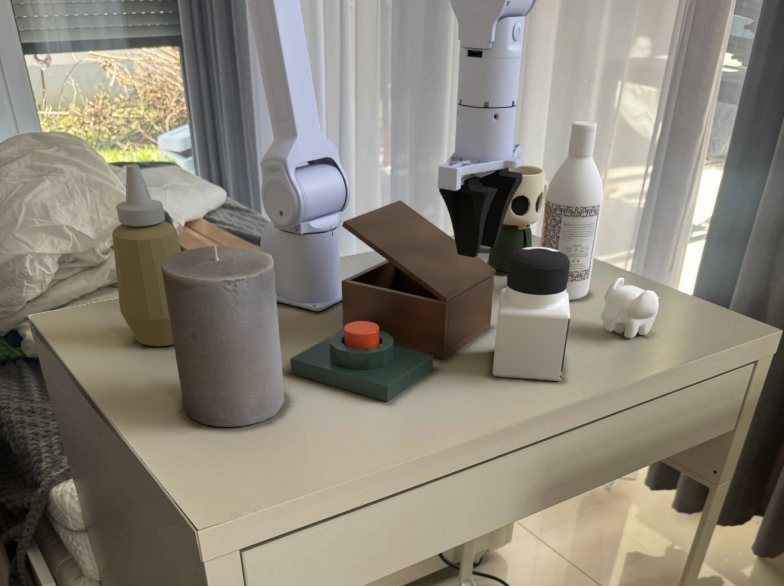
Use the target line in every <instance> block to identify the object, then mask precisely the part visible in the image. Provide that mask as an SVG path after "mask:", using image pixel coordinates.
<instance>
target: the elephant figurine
mask: <svg viewBox="0 0 784 586" xmlns="http://www.w3.org/2000/svg"><path fill="white" fill-rule="evenodd" d="M624 284H625V278H623V277H618V278H616V279H615V280H614V281H613V282H612V283H611V284H610V285H609V286H608V288H607V289H606V291H605V294H604V302H605V305H604V307H603V310H602V312H601V315H600V317H599V319H598V321H601V320H602V324H603V327H604V329H605V330H606V331H607V332H613V331H614V332H615V333H617V334H622V333H623V336H624V337H625V338H627V339H633V338H635V337H636V335H637V334H638V335H641V336H646V335H648V334H649V332H650V330H651V328H652V327H653V324H654V322H655V320H656V318H657V315H658V312H659V308H660V307H659V305H660V304H659V299H660V297H659V296H658V295H657V293H656V292H655V291H653V290H650V289H647V290H645V289H643V288H641V287H638V286H636V285H632V284H628V285H624Z"/></svg>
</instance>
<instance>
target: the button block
mask: <svg viewBox="0 0 784 586" xmlns="http://www.w3.org/2000/svg"><path fill="white" fill-rule="evenodd" d="M289 362H290V373H291V374H292V375H295V376H299V377H302V378H306V379H309V380H312V381H316V382H318V383H322V384H325V385H328V386H332V387H336V388H339V389H342V390H345V391H349V392H351V393H356V394H359V395H363V396H365V397H368V398H369V397H370V398H372V399H376V400H379V401H382V402H386V403H388V402H390V401H391V400H392V399H393V398H395V397H397V396H398V395H399V394H401V393H402V392H404V391H405V390H407V389H408V388H409V387H411V386H413V385H414V384H415V383H416V382H418V381H419V380H421V379H423V378H424V377H425V376H426V375H428V374H429V373H430V372H432V371H433V370H434V358H433V355H430V354H426V353H422V352H418V351H415V350H411V349H407V348H403V347H399V346H395V345H394V338H393V337H392V336H390V335H389V334H388V333H386V332H383V331H379V345H378V346H376V347H372V348H367V349H361V348H352V347H348V346H345V343H344V331H343V330H341V331H338V332H336V333H335V334H333V335H331V336H328V337H327V338H324V340H322V341H320V342H318V343H315V344H314V345H312V346H311V347H309V348H307V349H305V350H303V351H301V352H299V353H298V354H296V355H294V356H292V357H291V358H290V359H289Z"/></svg>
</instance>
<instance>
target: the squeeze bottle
mask: <svg viewBox="0 0 784 586" xmlns="http://www.w3.org/2000/svg"><path fill="white" fill-rule="evenodd" d="M125 169H126V170H125V171H126V173H125V175H126V176H125V177H126V178H125V200H124V201H121V202H119V203H117V204H116V206H115V208H116V214H117V219H118V223H120V224H119V225H117V226H116V227H115V228H114V229H113V230H112V237H111V238H112V244H113V245H112V246H113V255H114V263H115V264H114V265H115V273H116V285H117V293H118V300H119V301H118V302H119V311H120V313H121V315H122V317H123V318H124V320H125V322H126V325H128V327H129V329H130V331H131V332H132V334H133V336H134V338H135V339H136V340H137V342H139V343H140V344H142V345H144V346H148V347H149V346H151V347H167V346H168V347H169V346H172V345H173V346H174V343H173V335H172V329H171V323H170V316H169V311H168V304H167V299H166V293H165V287H164V280H163V274H162V268H161V265H162V263H163V261H164V260H165V259H167V258H168V257H169V256H171V255H173V254H175V253H178V252H182V251H183V250H182V247H181V243H180V239H179V236H178V232H177V228H176V227H175V226H174V225H173V224H172V223H169V222H168V221H166V215H165V209H164V203H163V202H162V201H160V200H157V199H152V196H151V194H150V191H149V189H148V187H147V183H146V181H145V179H144V176H143V174H142V171H141V168H140V166H139V164H136V163H135V164H134V163H133V164H127V165H126V168H125Z"/></svg>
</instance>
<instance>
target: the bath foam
mask: <svg viewBox="0 0 784 586" xmlns="http://www.w3.org/2000/svg"><path fill="white" fill-rule="evenodd" d="M597 130H598V123H597V122H595V121H589V120H576V121H572V123H571V132H570V137H569V144H568V152H567V153H568V155H567V156H566V158H565V159H564V160H563V162H562V163H561V165H560V166H559V167H558V168H557V170H556V172H555V173H554V175H552V177H551V180H550V183H549V184H548V191H547V195H546V201H545V204H544V210H543V218H542V219H543V220H542V225H541V226H542V227H541V234H540V235H541V236H540V244H539V247H546V248H551V249H555V250H558V251H560V252H561V253H563V254H565V255H566V256H567V257H568V258H569V260H570V267H569V274H568V281H567V288H566V292H567V293H568V297H569V301H575V300H579V299H583V298H584V297H585V296H587V295H588V293H589V290H590V285H591V278H592V271H593V266H594V265H593V264H594V259H595V253H596V246H597V241H598V235H599V228H600V221H601V216H602V215H601V214H602V209H603V201H604V186H603V181H602V177H601V174H600V172H599V170H598V167H597V165H596V162H595V160H594V151H595V143H596V136H597Z"/></svg>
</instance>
